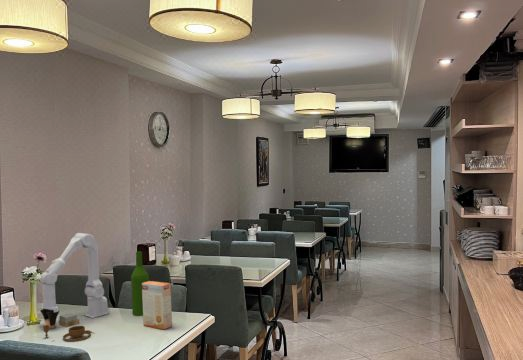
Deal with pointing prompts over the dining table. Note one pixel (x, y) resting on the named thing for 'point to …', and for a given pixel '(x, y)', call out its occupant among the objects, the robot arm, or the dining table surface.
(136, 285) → the wine bottle
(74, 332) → the place setting
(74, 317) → the slate block
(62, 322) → the walnut block
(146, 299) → the cracker box
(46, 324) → the terracotta cylinder
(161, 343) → the dining table surface
